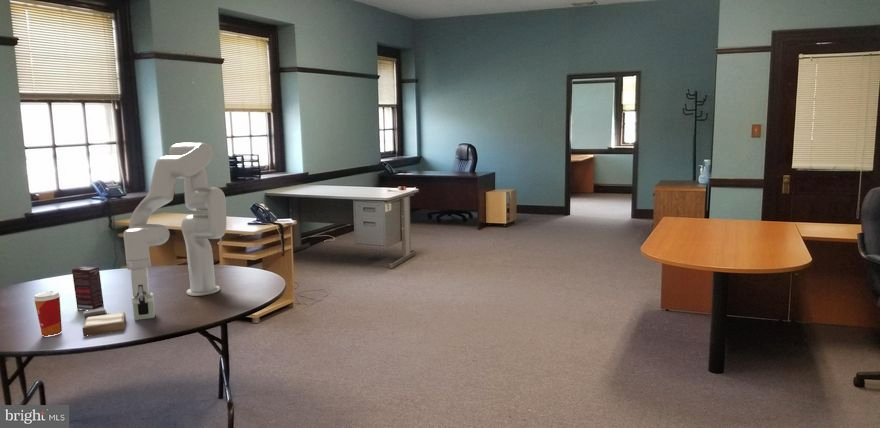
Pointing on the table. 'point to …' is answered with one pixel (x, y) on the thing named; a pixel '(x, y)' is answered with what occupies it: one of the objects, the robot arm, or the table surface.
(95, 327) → the wooden tray
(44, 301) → the paper cup
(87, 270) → the supplement box
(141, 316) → the carton
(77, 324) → the table surface
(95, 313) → the gray box
